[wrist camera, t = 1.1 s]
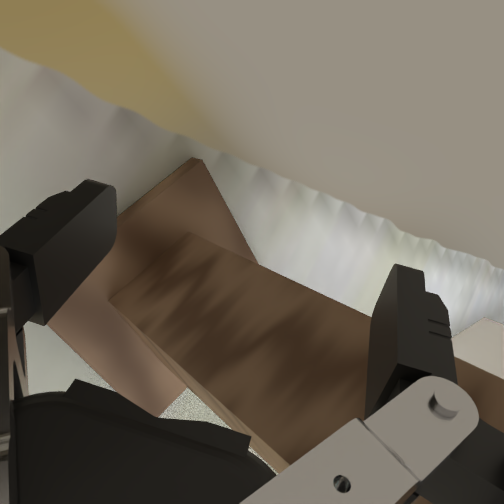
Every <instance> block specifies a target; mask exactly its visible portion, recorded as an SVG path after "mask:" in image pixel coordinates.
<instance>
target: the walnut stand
mask: <svg viewBox="0 0 504 504" xmlns="http://www.w3.org/2000/svg"><path fill="white" fill-rule="evenodd" d="M371 318H372V317H370V316H367V315H365V314H363V313H361V312H359V311H357V310H355V309H352V308H350V307H348V306H346V305H344V304H342V303H340V302H338V301H335V300H333V299H331V298H329V297H327V296H325V295H323V294H320V293H318V292H316V291H314V290H312V289H310V288H308V287H306V286H303V285H301V284H299V283H297V282H295V281H293V280H291V279H288V278H286V277H284V276H282V275H280V274H278V273H276V272H274V271H271V270H269V269H267V268H265V267H263V266H261V265H259V264H258V262H257V260H256V259H255V257H254V255H253V253H252V251H251V249H250V247H249V246H248V244H247V242H246V240H245V238H244V236H243V234H242V233H241V231H240V229H239V227H238V225H237V223H236V221H235V220H234V218H233V216H232V214H231V212H230V210H229V209H228V207H227V205H226V203H225V201H224V199H223V197H222V196H221V194H220V192H219V190H218V188H217V186H216V184H215V183H214V181H213V179H212V177H211V175H210V173H209V171H208V170H207V168H206V166H205V164H204V162H203V160H200V159H196V158H191V159H189V160H188V161H187V162H186V163H184V164H183V165H182V166H181V167H179V168H178V169H177V170H176V171H174V172H173V173H172V174H171V175H169V176H168V177H167V178H166V179H164V180H163V181H162V182H160V183H159V184H158V185H157V186H155V187H154V188H153V189H152V190H150V191H149V192H148V193H147V194H145V195H144V196H143V197H142V198H140V199H139V200H138V201H137V202H135V203H134V204H133V205H132V206H130V207H129V208H128V209H127V210H125V211H124V212H123V213H121V214H120V215H119V216H118V217H117V235H116V240H115V243H114V245H113V247H112V249H111V250H110V252H109V253H108V254H107V255H106V256H105V257H104V259H103V260H102V261H101V262H100V263H99V264H98V265H97V267H96V268H95V269H94V270H93V271H92V272H91V273H90V275H89V276H88V277H87V278H86V279H85V280H84V281H83V283H82V284H81V285H80V286H79V287H78V288H77V290H76V291H75V292H74V293H73V294H72V295H71V296H70V298H69V299H68V300H67V301H66V302H65V303H64V304H63V306H62V307H61V308H60V309H59V310H58V311H57V312H56V314H55V315H54V316H53V317H52V318H51V319H50V320H49V322H48V323H47V325H48V326H49V327H50V328H51V329H52V330H53V331H54V332H55V333H56V334H57V335H58V336H59V337H60V338H61V339H62V340H64V341H65V342H66V343H67V344H68V345H69V346H70V347H71V348H72V349H73V350H74V351H75V352H76V353H77V354H78V355H79V356H80V357H81V358H82V359H83V360H84V361H85V362H86V363H87V364H88V365H89V366H91V367H92V368H93V369H94V370H95V371H96V372H97V373H98V374H99V375H100V376H101V377H102V378H103V379H104V380H105V381H106V382H107V383H108V384H109V385H110V386H111V387H112V388H113V389H114V390H115V391H117V392H118V393H119V394H121V395H122V396H124V397H125V398H127V399H128V400H130V401H131V402H133V403H134V404H136V405H138V406H139V407H141V408H142V409H144V410H145V411H147V412H148V413H150V414H151V415H153V416H155V417H159V416H160V415H161V414H162V413H163V412H164V411H165V410H166V409H167V407H168V406H169V405H170V404H171V403H172V402H173V401H174V400H175V399H176V398H177V397H178V396H179V395H180V394H181V393H182V392H183V391H184V390H185V389H186V388H187V387H188V388H189V389H190V390H191V391H192V392H193V393H194V394H195V395H196V396H197V397H199V398H200V399H201V400H202V401H203V402H204V403H205V404H206V405H207V406H208V407H209V408H210V409H211V410H212V411H213V412H214V413H215V414H216V415H218V416H219V417H220V418H221V419H222V420H223V421H224V422H225V423H226V424H227V425H228V426H229V427H230V428H231V429H232V430H234V431H237V432H240V433H243V434H246V435H249V436H252V437H251V441H250V444H249V446H250V447H251V448H252V449H253V450H255V451H256V452H257V453H258V454H259V455H260V456H261V457H262V458H263V459H264V460H265V461H266V462H267V463H268V464H269V465H270V466H271V467H273V468H274V469H275V470H276V471H277V472H278V473H279V474H280V473H281V472H282V471H284V470H285V469H286V468H288V467H289V466H290V465H292V464H293V463H294V462H296V461H297V460H298V459H300V458H301V457H302V456H304V455H305V454H306V453H308V452H309V451H311V450H312V449H313V448H315V447H316V446H317V445H319V444H320V443H321V442H323V441H324V440H325V439H327V438H328V437H329V436H331V435H332V434H333V433H335V432H336V431H337V430H339V429H340V428H341V427H343V426H344V425H345V424H347V423H348V422H350V421H351V420H353V419H355V418H360V419H361V420H362V421H364V414H365V398H366V383H367V367H368V351H369V336H370V324H371ZM454 359H455V367H456V374H457V382H458V386H459V387H461V388H462V389H463V390H464V391H465V392H466V393H467V394H468V395H469V396H470V397H471V399H472V400H473V401H474V403H475V405H476V407H477V410H478V414H479V418H481V419H482V420H483V421H485V422H486V423H488V424H489V425H491V426H493V427H494V428H496V429H498V430H499V431H501V432H503V433H504V379H502V378H500V377H498V376H495V375H493V374H491V373H489V372H487V371H485V370H483V369H481V368H478V367H476V366H474V365H472V364H470V363H468V362H466V361H463V360H461V359H459V358H457V357H455V356H454ZM413 504H432V503H431V502H429V501H428V500H426V499H425V498H423V497H422V496H420V497H419V498H418V499H417V500H416V501H415V502H414V503H413Z"/></svg>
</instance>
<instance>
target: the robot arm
mask: <svg viewBox="0 0 504 504" xmlns="http://www.w3.org/2000/svg"><path fill="white" fill-rule="evenodd" d="M116 235H117V207H116V190H115V188H114V187H113V186H111V185H108V184H104V183H100V182H97V181H93V180H90V179H87V180H84V181H83V182H82V183H81V184H79V185H78V186H77V187H76V188H75V189H73V190H72V191H71V192H68V191H64V192H61V193H59V194H56V195H53V196H51V197H48V198H47V199H46V200H44V201H43V202H42V203H41V204H39V205H38V206H37V207H36V209H33V210H32V211H30V212H29V213H28V214H27V215H26V217H23V218H22V219H20V220H19V221H18V222H16V223H15V224H14V225H13V226H11V227H10V228H9V229H8V230H6V231H5V232H4V233H2V234H1V235H0V504H413V503H414V502H415V501H416V500H417V499H418V498H419V497H420V496H422V497H423V498H425V499H426V500H428V501H429V502H431V503H432V504H504V433H503V432H501V431H499V430H498V429H496V428H494V427H493V426H491V425H489V424H488V423H486V422H485V421H483V420H482V419H481V418H479V414H478V410H477V407H476V405H475V403H474V401H473V400H472V399H471V397H470V396H469V395H468V394H467V393H466V392H465V391H464V390H463V389H462V388H461V387H459V386H458V382H457V374H456V367H455V359H454V352H453V345H452V340H451V338H452V337H451V330H450V328H449V326H450V322H449V315H448V310H447V308H446V306H445V305H444V303H443V302H442V300H441V299H440V297H439V295H437V294H433V293H430V292H426V291H425V279H424V272H423V271H421V270H417V269H413V268H410V267H406V266H403V265H399V264H394V266H393V267H392V269H391V271H390V273H389V276H388V278H387V280H386V282H385V285H384V287H383V289H382V291H381V294H380V296H379V298H378V301H377V303H376V305H375V308H374V311H373V314H372V318H371V324H370V336H369V351H368V367H367V383H366V398H365V414H364V421H362V420H361V419H360V418H355V419H353V420H351V421H350V422H348V423H347V424H345V425H344V426H343V427H341V428H340V429H339V430H337V431H336V432H335V433H333V434H332V435H331V436H329V437H328V438H327V439H325V440H324V441H323V442H321V443H320V444H319V445H317V446H316V447H315V448H313V449H312V450H311V451H309V452H308V453H306V454H305V455H304V456H302V457H301V458H300V459H298V460H297V461H296V462H294V463H293V464H292V465H290V466H289V467H288V468H286V469H285V470H284V471H282V472H281V473H280V474H278V475H276V474H275V473H274V472H273V471H272V470H271V469H270V468H269V467H268V465H267V464H266V463H264V462H263V461H262V460H261V459H259V458H258V457H257V456H256V455H254V454H253V453H251V452H250V451H248V448H249V444H250V441H251V437H252V436H249V435H246V434H243V433H240V432H237V431H234V430H231V429H228V428H225V427H221V426H218V425H215V424H212V423H209V422H204V421H191V420H179V419H166V418H158V417H155V416H153V415H151V414H150V413H148V412H147V411H145V410H144V409H142V408H141V407H139V406H138V405H136V404H134V403H133V402H131V401H130V400H128V399H127V398H125V397H124V396H122V395H121V394H119V393H117V392H114V391H111V390H108V389H105V388H102V387H99V386H96V385H93V384H90V383H87V382H84V381H81V380H78V379H75V380H74V381H73V383H72V384H71V386H70V387H69V388H68V390H67V391H66V392H63V391H58V392H45V393H38V394H34V395H29V390H28V376H27V360H26V343H25V333H24V328H23V325H24V324H25V323H26V322H27V321H30V322H33V323H36V324H40V325H43V326H45V325H46V324H47V323H48V322H49V320H50V319H51V318H52V317H53V316H54V315H55V314H56V312H57V311H58V310H59V309H60V308H61V307H62V306H63V304H64V303H65V302H66V301H67V300H68V299H69V298H70V296H71V295H72V294H73V293H74V292H75V291H76V290H77V288H78V287H79V286H80V285H81V284H82V283H83V281H84V280H85V279H86V278H87V277H88V276H89V275H90V273H91V272H92V271H93V270H94V269H95V268H96V267H97V265H98V264H99V263H100V262H101V261H102V260H103V259H104V257H105V256H106V255H107V254H108V253H109V252H110V250H111V249H112V247H113V245H114V243H115V240H116Z"/></svg>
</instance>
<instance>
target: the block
mask: <svg viewBox="0 0 504 504" xmlns="http://www.w3.org/2000/svg"><path fill="white" fill-rule="evenodd" d="M451 340H452V345H453V352H454V356H455V357H457V358H459V359H461V360H463V361H466V362H468V363H470V364H472V365H474V366H476V367H478V368H481V369H483V370H485V371H487V372H489V373H491V374H493V375H495V376H498V377H500V378H502V379H504V325H503V324H501V323H498V322H495V321H493V320H490V319H488V318H485V317H484V318H483V319H481V320H479V321H478V322H476V323H475V324H473V325H472V326H470V327H469V328H467V329H465V330H464V331H462V332H461V333H459V334H458V335H456V336H455V337H453V338H452V339H451Z"/></svg>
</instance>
